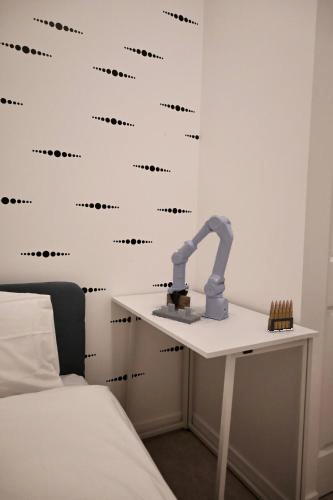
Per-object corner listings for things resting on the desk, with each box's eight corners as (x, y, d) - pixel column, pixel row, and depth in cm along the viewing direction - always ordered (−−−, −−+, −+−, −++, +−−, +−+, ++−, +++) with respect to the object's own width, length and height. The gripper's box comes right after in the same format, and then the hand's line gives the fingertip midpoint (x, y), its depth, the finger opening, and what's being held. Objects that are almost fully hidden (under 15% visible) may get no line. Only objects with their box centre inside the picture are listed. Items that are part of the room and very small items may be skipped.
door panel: (189, 311, 146) (190, 296, 146) (185, 313, 144) (186, 297, 143) (169, 307, 154) (169, 292, 153) (165, 308, 151) (165, 293, 151)
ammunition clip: (289, 328, 125) (291, 298, 124) (293, 330, 123) (294, 300, 123) (267, 331, 122) (268, 300, 121) (270, 332, 120) (272, 301, 119)
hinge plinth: (200, 319, 133) (201, 309, 133) (189, 324, 127) (190, 313, 127) (163, 311, 146) (163, 301, 145) (152, 314, 139) (152, 304, 139)
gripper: (181, 275, 156) (180, 302, 157) (162, 278, 145) (161, 307, 146) (193, 276, 152) (192, 304, 153) (174, 280, 141) (173, 310, 142)
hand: (178, 306), depth 149 cm, fingers open, 4 cm apart
